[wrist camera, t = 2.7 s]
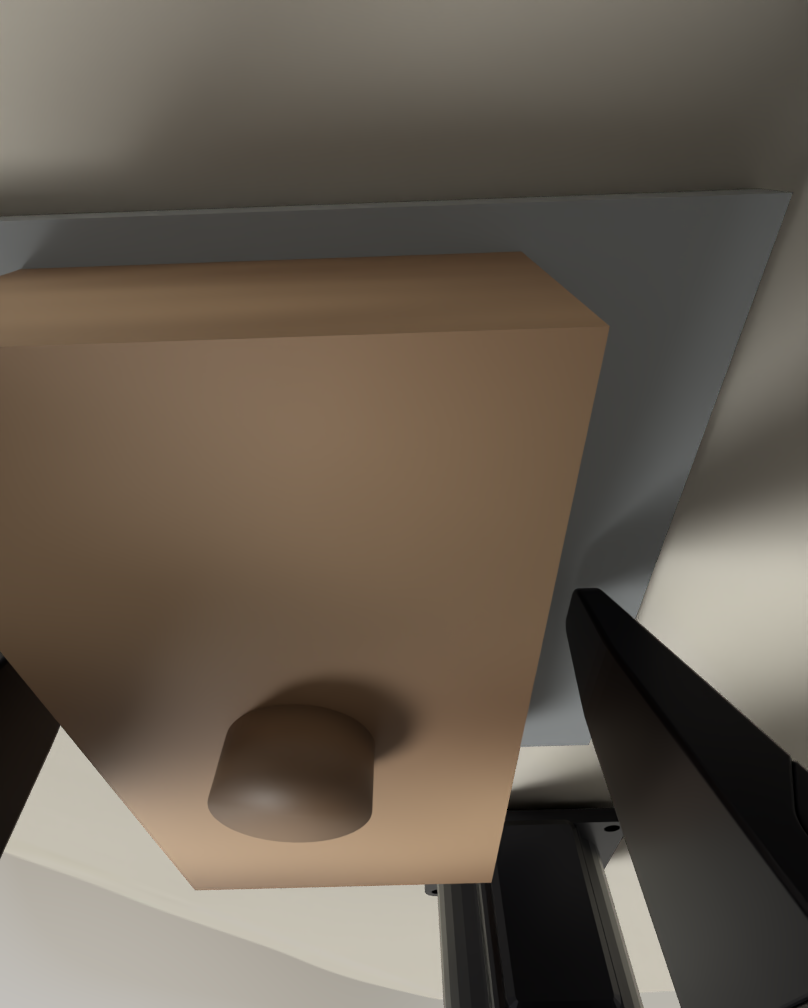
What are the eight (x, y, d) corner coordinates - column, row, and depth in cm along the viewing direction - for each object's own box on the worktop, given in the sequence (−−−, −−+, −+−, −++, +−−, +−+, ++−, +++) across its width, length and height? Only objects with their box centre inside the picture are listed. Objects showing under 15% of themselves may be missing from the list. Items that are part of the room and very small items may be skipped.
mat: (581, 722, 13) (588, 744, 13) (133, 735, 13) (123, 757, 13) (761, 188, 6) (793, 192, 6) (-209, 224, 6) (-262, 230, 6)
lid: (472, 737, 12) (498, 934, 9) (234, 744, 12) (181, 941, 9) (521, 251, 6) (660, 367, 3) (21, 268, 6) (-386, 403, 3)
